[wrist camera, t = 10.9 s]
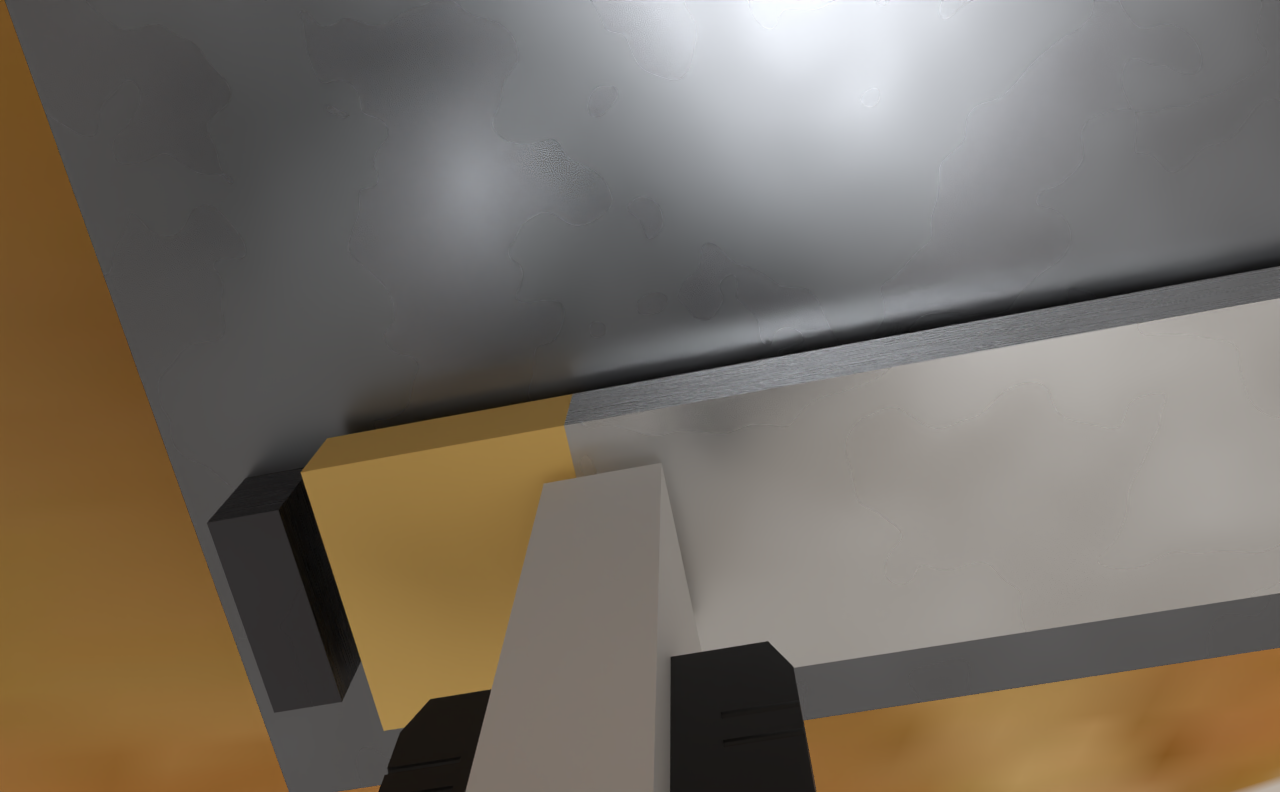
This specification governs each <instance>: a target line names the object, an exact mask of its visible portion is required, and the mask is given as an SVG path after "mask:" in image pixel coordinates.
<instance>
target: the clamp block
mask: <svg viewBox="0 0 1280 792" xmlns="http://www.w3.org/2000/svg"><path fill="white" fill-rule="evenodd" d="M5 2H6V5H7V8H8V11H9V14H10V16H11V19H12V22H13V25H14V27H15V30H16V33H17V36H18V39H19V41H20V44H21V47H22V50H23V53H24V55H25V58H26V61H27V64H28V66H29V69H30V72H31V75H32V78H33V80H34V83H35V86H36V89H37V91H38V94H39V97H40V100H41V103H42V105H43V108H44V111H45V114H46V117H47V119H48V122H49V125H50V128H51V130H52V133H53V136H54V139H55V142H56V144H57V147H58V150H59V153H60V155H61V158H62V161H63V164H64V167H65V169H66V172H67V175H68V178H69V181H70V183H71V186H72V189H73V192H74V194H75V197H76V200H77V203H78V206H79V208H80V211H81V214H82V217H83V219H84V222H85V225H86V228H87V231H88V233H89V236H90V239H91V242H92V245H93V247H94V250H95V253H96V256H97V258H98V261H99V264H100V267H101V270H102V272H103V275H104V278H105V281H106V283H107V286H108V289H109V292H110V295H111V297H112V300H113V303H114V306H115V309H116V311H117V314H118V317H119V320H120V322H121V325H122V328H123V331H124V334H125V336H126V339H127V342H128V345H129V347H130V350H131V353H132V356H133V359H134V361H135V364H136V367H137V370H138V373H139V375H140V378H141V381H142V384H143V386H144V389H145V392H146V395H147V398H148V400H149V403H150V406H151V409H152V411H153V414H154V417H155V420H156V423H157V425H158V428H159V431H160V434H161V436H162V439H163V442H164V445H165V448H166V450H167V453H168V456H169V459H170V462H171V464H172V467H173V470H174V473H175V475H176V478H177V481H178V484H179V487H180V489H181V492H182V495H183V498H184V500H185V503H186V506H187V509H188V512H189V514H190V517H191V520H192V523H193V526H194V528H195V531H196V534H197V537H198V539H199V542H200V545H201V548H202V551H203V553H204V556H205V559H206V562H207V564H208V567H209V570H210V573H211V576H212V578H213V581H214V584H215V587H216V590H217V592H218V595H219V598H220V601H221V603H222V606H223V609H224V612H225V615H226V617H227V620H228V623H229V626H230V628H231V631H232V634H233V637H234V640H235V642H236V645H237V648H238V651H239V654H240V656H241V659H242V662H243V665H244V667H245V670H246V673H247V676H248V679H249V681H250V684H251V687H252V690H253V692H254V695H255V698H256V701H257V704H258V706H259V709H260V712H261V715H262V718H263V720H264V723H265V726H266V729H267V731H268V734H269V737H270V740H271V743H272V745H273V748H274V751H275V754H276V756H277V759H278V762H279V765H280V768H281V770H282V773H283V776H284V779H285V782H286V784H287V787H288V790H289V792H338V791H344V790H351V789H357V788H364V787H370V786H377V785H381V784H382V781H383V778H384V775H387V774H388V770H387V767H388V764H389V761H390V759H391V756H392V753H393V750H394V747H395V745H396V742H397V739H398V736H399V734H400V732H401V731H402V730H403V729H404V728H399V729H393V730H386V731H384V730H383V727H382V724H381V721H380V718H379V715H378V712H377V708H376V705H375V702H374V699H373V696H372V693H371V690H370V687H369V684H368V680H367V677H366V674H365V671H364V668H363V665H362V662H361V659H360V656H359V652H358V649H357V646H356V643H355V640H354V637H353V634H352V631H351V628H350V624H349V621H348V618H347V615H346V612H345V609H344V606H343V603H342V600H341V597H340V593H339V590H338V587H337V584H336V581H335V578H334V575H333V572H332V569H331V565H330V562H329V559H328V556H327V553H326V550H325V547H324V544H323V541H322V537H321V534H320V531H319V528H318V525H317V522H316V519H315V516H314V513H313V509H312V506H311V503H310V500H309V497H308V494H307V491H306V488H305V485H304V481H303V478H302V475H301V471H302V470H303V469H304V467H305V466H306V465H307V464H308V462H309V461H310V460H311V458H312V457H313V456H314V455H315V453H316V452H317V451H318V449H319V448H320V447H321V446H322V444H323V443H324V442H325V440H326V439H327V438H332V437H337V436H343V435H348V434H354V433H359V432H365V431H370V430H376V429H381V428H387V427H392V426H398V425H404V424H409V423H415V422H420V421H426V420H431V419H437V418H442V417H448V416H453V415H459V414H464V413H470V412H475V411H481V410H487V409H492V408H498V407H503V406H509V405H514V404H520V403H525V402H531V401H536V400H542V399H547V398H553V397H559V396H564V395H570V394H575V393H581V392H586V391H592V390H597V389H603V388H608V387H614V386H619V385H625V384H630V383H636V382H642V381H647V380H653V379H658V378H664V377H669V376H675V375H680V374H686V373H691V372H697V371H702V370H708V369H714V368H719V367H725V366H730V365H736V364H741V363H747V362H752V361H758V360H763V359H769V358H774V357H780V356H785V355H791V354H797V353H802V352H808V351H813V350H819V349H824V348H830V347H835V346H841V345H846V344H852V343H857V342H863V341H869V340H874V339H880V338H885V337H891V336H896V335H902V334H907V333H913V332H918V331H924V330H929V329H935V328H940V327H946V326H952V325H957V324H963V323H968V322H974V321H979V320H985V319H990V318H996V317H1001V316H1007V315H1012V314H1018V313H1024V312H1029V311H1035V310H1040V309H1046V308H1051V307H1057V306H1062V305H1068V304H1073V303H1079V302H1084V301H1090V300H1095V299H1101V298H1107V297H1112V296H1118V295H1123V294H1129V293H1134V292H1140V291H1145V290H1151V289H1156V288H1162V287H1167V286H1173V285H1179V284H1184V283H1190V282H1195V281H1201V280H1206V279H1212V278H1217V277H1223V276H1228V275H1234V274H1239V273H1245V272H1250V271H1256V270H1262V269H1267V268H1273V267H1278V266H1280V0H5ZM1274 648H1280V593H1277V594H1271V595H1264V596H1258V597H1251V598H1245V599H1238V600H1232V601H1225V602H1219V603H1212V604H1206V605H1199V606H1193V607H1186V608H1180V609H1173V610H1166V611H1160V612H1153V613H1147V614H1140V615H1134V616H1127V617H1121V618H1114V619H1108V620H1101V621H1095V622H1088V623H1082V624H1075V625H1069V626H1062V627H1056V628H1049V629H1043V630H1036V631H1030V632H1023V633H1017V634H1010V635H1004V636H997V637H991V638H984V639H978V640H971V641H965V642H958V643H952V644H945V645H939V646H932V647H926V648H919V649H913V650H906V651H900V652H893V653H887V654H880V655H874V656H867V657H861V658H854V659H848V660H841V661H835V662H828V663H822V664H815V665H809V666H802V667H796V668H794V672H795V678H796V683H797V689H798V694H799V700H800V705H801V710H802V716H803V720H809V719H816V718H822V717H829V716H835V715H842V714H848V713H855V712H861V711H868V710H874V709H881V708H888V707H894V706H901V705H907V704H914V703H920V702H927V701H933V700H940V699H946V698H953V697H960V696H966V695H973V694H979V693H986V692H992V691H999V690H1005V689H1012V688H1018V687H1025V686H1032V685H1038V684H1045V683H1051V682H1058V681H1064V680H1071V679H1077V678H1084V677H1090V676H1097V675H1104V674H1110V673H1117V672H1123V671H1130V670H1136V669H1143V668H1149V667H1156V666H1162V665H1169V664H1176V663H1182V662H1189V661H1195V660H1202V659H1208V658H1215V657H1221V656H1228V655H1234V654H1241V653H1248V652H1254V651H1261V650H1267V649H1274Z"/></svg>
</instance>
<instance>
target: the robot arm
mask: <svg viewBox="0 0 1280 792" xmlns="http://www.w3.org/2000/svg"><path fill="white" fill-rule="evenodd" d="M387 770H388V774H387V775H384V778H383V781H382V784H381V786H380V789H379V792H816V786H815V781H814V775H813V770H812V765H811V759H810V754H809V748H808V743H807V737H806V732H805V727H804V721H803V716H802V710H801V705H800V700H799V694H798V689H797V683H796V678H795V672H794V667H793V666H792V665H791V664H790V663H789V662H788V661H787V660H786V659H785V658H784V657H783V656H782V655H781V654H780V653H779V652H778V651H777V650H776V649H775V648H774V647H773V646H772V645H771V644H770V643H769V642H768V641H765V642H759V643H753V644H747V645H741V646H734V647H728V648H722V649H716V650H710V651H703V652H702V650H701V646H700V641H699V636H698V632H697V627H696V622H695V618H694V613H693V608H692V603H691V599H690V594H689V589H688V585H687V580H686V575H685V571H684V566H683V561H682V557H681V552H680V547H679V542H678V538H677V533H676V528H675V524H674V519H673V514H672V510H671V505H670V500H669V496H668V491H667V486H666V481H665V477H664V472H663V467H662V463H657V464H652V465H646V466H640V467H635V468H629V469H623V470H618V471H612V472H606V473H601V474H595V475H589V476H584V477H578V478H572V479H567V480H561V481H555V482H550V483H544V485H543V489H542V493H541V496H540V500H539V504H538V508H537V512H536V516H535V520H534V524H533V528H532V532H531V536H530V540H529V544H528V548H527V551H526V555H525V559H524V563H523V567H522V571H521V575H520V579H519V583H518V587H517V591H516V595H515V599H514V603H513V607H512V610H511V614H510V618H509V622H508V626H507V630H506V634H505V638H504V642H503V646H502V650H501V654H500V658H499V662H498V666H497V669H496V673H495V677H494V681H493V685H492V689H490V690H483V691H477V692H471V693H465V694H459V695H452V696H446V697H440V698H434V699H430V700H429V701H428V702H427V703H426V704H425V705H424V706H423V708H422V709H421V710H420V711H419V712H418V713H417V714H416V715H415V716H414V718H413V719H412V720H411V721H410V722H409V723H408V724H407V725H406V726H405V727H404V729H403V730H402V731H401V732H400V734H399V736H398V739H397V742H396V745H395V747H394V750H393V753H392V756H391V759H390V761H389V764H388V767H387Z"/></svg>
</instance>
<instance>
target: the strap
mask: <svg viewBox="0 0 1280 792" xmlns="http://www.w3.org/2000/svg"><path fill="white" fill-rule="evenodd" d="M657 463H662V467H663V472H664V477H665V481H666V486H667V491H668V496H669V500H670V505H671V510H672V514H673V519H674V524H675V528H676V533H677V538H678V542H679V547H680V552H681V557H682V561H683V566H684V571H685V575H686V580H687V585H688V589H689V594H690V599H691V603H692V608H693V613H694V618H695V622H696V627H697V632H698V636H699V641H700V646H701V650H702V652H703V651H710V650H716V649H722V648H728V647H734V646H741V645H747V644H753V643H759V642H765V641H768V642H769V643H770V644H771V645H772V646H773V647H774V648H775V649H776V650H777V651H778V652H779V653H780V654H781V655H782V656H783V657H784V658H785V659H786V660H787V661H788V662H789V663H790V664H791V665H792V666H793V667H794V668H796V667H802V666H809V665H815V664H822V663H828V662H835V661H841V660H848V659H854V658H861V657H867V656H874V655H880V654H887V653H893V652H900V651H906V650H913V649H919V648H926V647H932V646H939V645H945V644H952V643H958V642H965V641H971V640H978V639H984V638H991V637H997V636H1004V635H1010V634H1017V633H1023V632H1030V631H1036V630H1043V629H1049V628H1056V627H1062V626H1069V625H1075V624H1082V623H1088V622H1095V621H1101V620H1108V619H1114V618H1121V617H1127V616H1134V615H1140V614H1147V613H1153V612H1160V611H1166V610H1173V609H1180V608H1186V607H1193V606H1199V605H1206V604H1212V603H1219V602H1225V601H1232V600H1238V599H1245V598H1251V597H1258V596H1264V595H1271V594H1277V593H1280V266H1278V267H1273V268H1267V269H1262V270H1256V271H1250V272H1245V273H1239V274H1234V275H1228V276H1223V277H1217V278H1212V279H1206V280H1201V281H1195V282H1190V283H1184V284H1179V285H1173V286H1167V287H1162V288H1156V289H1151V290H1145V291H1140V292H1134V293H1129V294H1123V295H1118V296H1112V297H1107V298H1101V299H1095V300H1090V301H1084V302H1079V303H1073V304H1068V305H1062V306H1057V307H1051V308H1046V309H1040V310H1035V311H1029V312H1024V313H1018V314H1012V315H1007V316H1001V317H996V318H990V319H985V320H979V321H974V322H968V323H963V324H957V325H952V326H946V327H940V328H935V329H929V330H924V331H918V332H913V333H907V334H902V335H896V336H891V337H885V338H880V339H874V340H869V341H863V342H857V343H852V344H846V345H841V346H835V347H830V348H824V349H819V350H813V351H808V352H802V353H797V354H791V355H785V356H780V357H774V358H769V359H763V360H758V361H752V362H747V363H741V364H736V365H730V366H725V367H719V368H714V369H708V370H702V371H697V372H691V373H686V374H680V375H675V376H669V377H664V378H658V379H653V380H647V381H642V382H636V383H630V384H625V385H619V386H614V387H608V388H603V389H597V390H592V391H586V392H581V393H575V394H570V395H564V396H559V397H553V398H547V399H542V400H536V401H531V402H525V403H520V404H514V405H509V406H503V407H498V408H492V409H487V410H481V411H475V412H470V413H464V414H459V415H453V416H448V417H442V418H437V419H431V420H426V421H420V422H415V423H409V424H404V425H398V426H392V427H387V428H381V429H376V430H370V431H365V432H359V433H354V434H348V435H343V436H337V437H332V438H327V439H326V440H325V442H324V443H323V444H322V446H321V447H320V448H319V449H318V451H317V452H316V453H315V455H314V456H313V457H312V458H311V460H310V461H309V462H308V464H307V465H306V466H305V467H304V469H303V470H302V471H301V475H302V478H303V481H304V485H305V488H306V491H307V494H308V497H309V500H310V503H311V506H312V509H313V513H314V516H315V519H316V522H317V525H318V528H319V531H320V534H321V537H322V541H323V544H324V547H325V550H326V553H327V556H328V559H329V562H330V565H331V569H332V572H333V575H334V578H335V581H336V584H337V587H338V590H339V593H340V597H341V600H342V603H343V606H344V609H345V612H346V615H347V618H348V621H349V624H350V628H351V631H352V634H353V637H354V640H355V643H356V646H357V649H358V652H359V656H360V659H361V662H362V665H363V668H364V671H365V674H366V677H367V680H368V684H369V687H370V690H371V693H372V696H373V699H374V702H375V705H376V708H377V712H378V715H379V718H380V721H381V724H382V727H383V730H384V731H386V730H393V729H399V728H404V727H405V726H406V725H407V724H408V723H409V722H410V721H411V720H412V719H413V718H414V716H415V715H416V714H417V713H418V712H419V711H420V710H421V709H422V708H423V706H424V705H425V704H426V703H427V702H428V701H429V700H430V699H434V698H440V697H446V696H452V695H459V694H465V693H471V692H477V691H483V690H490V689H492V685H493V681H494V677H495V673H496V669H497V666H498V662H499V658H500V654H501V650H502V646H503V642H504V638H505V634H506V630H507V626H508V622H509V618H510V614H511V610H512V607H513V603H514V599H515V595H516V591H517V587H518V583H519V579H520V575H521V571H522V567H523V563H524V559H525V555H526V551H527V548H528V544H529V540H530V536H531V532H532V528H533V524H534V520H535V516H536V512H537V508H538V504H539V500H540V496H541V493H542V489H543V485H544V483H550V482H555V481H561V480H567V479H572V478H578V477H584V476H589V475H595V474H601V473H606V472H612V471H618V470H623V469H629V468H635V467H640V466H646V465H652V464H657Z"/></svg>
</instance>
